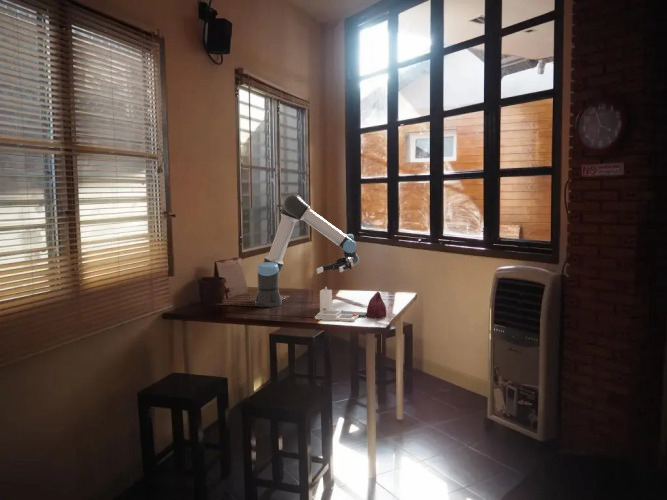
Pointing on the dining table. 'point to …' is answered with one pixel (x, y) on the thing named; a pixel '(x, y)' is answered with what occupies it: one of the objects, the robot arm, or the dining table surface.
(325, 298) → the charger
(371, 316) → the vegetable
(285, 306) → the dining table surface
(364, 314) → the phone
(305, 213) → the robot arm
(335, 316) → the white base tray
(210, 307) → the dining table surface
